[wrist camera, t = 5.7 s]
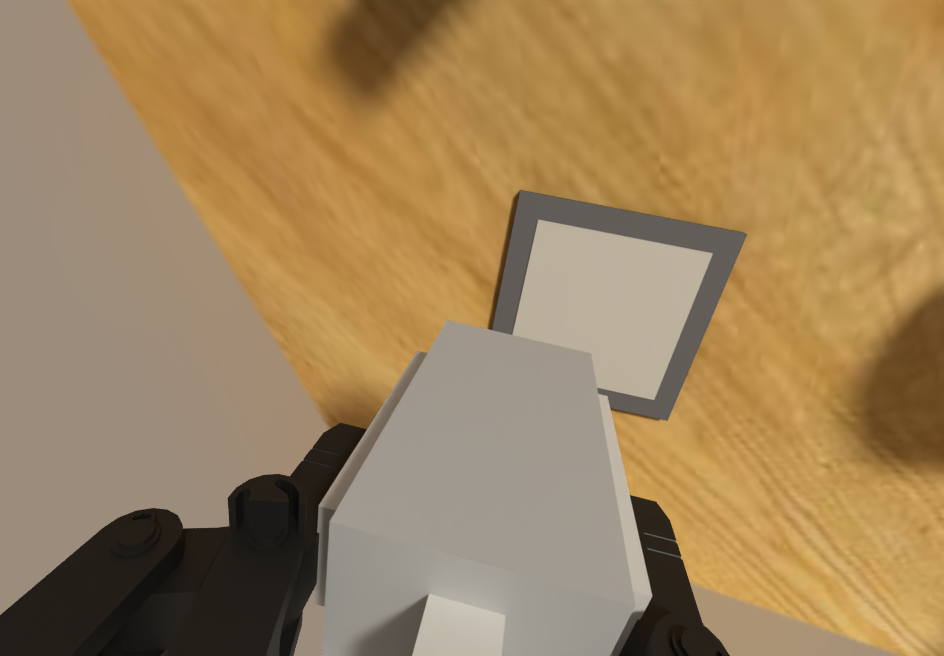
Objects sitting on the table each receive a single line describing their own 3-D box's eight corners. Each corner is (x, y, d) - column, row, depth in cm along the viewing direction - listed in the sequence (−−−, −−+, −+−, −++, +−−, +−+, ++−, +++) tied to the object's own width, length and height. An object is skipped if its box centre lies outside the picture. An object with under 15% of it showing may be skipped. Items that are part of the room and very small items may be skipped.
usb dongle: (447, 319, 14) (255, 647, 5) (590, 353, 13) (664, 773, 5) (427, 435, 16) (264, 824, 7) (554, 467, 15) (554, 924, 6)
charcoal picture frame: (520, 190, 28) (519, 191, 28) (743, 232, 28) (747, 234, 27) (483, 375, 34) (481, 380, 34) (665, 416, 33) (667, 421, 33)
